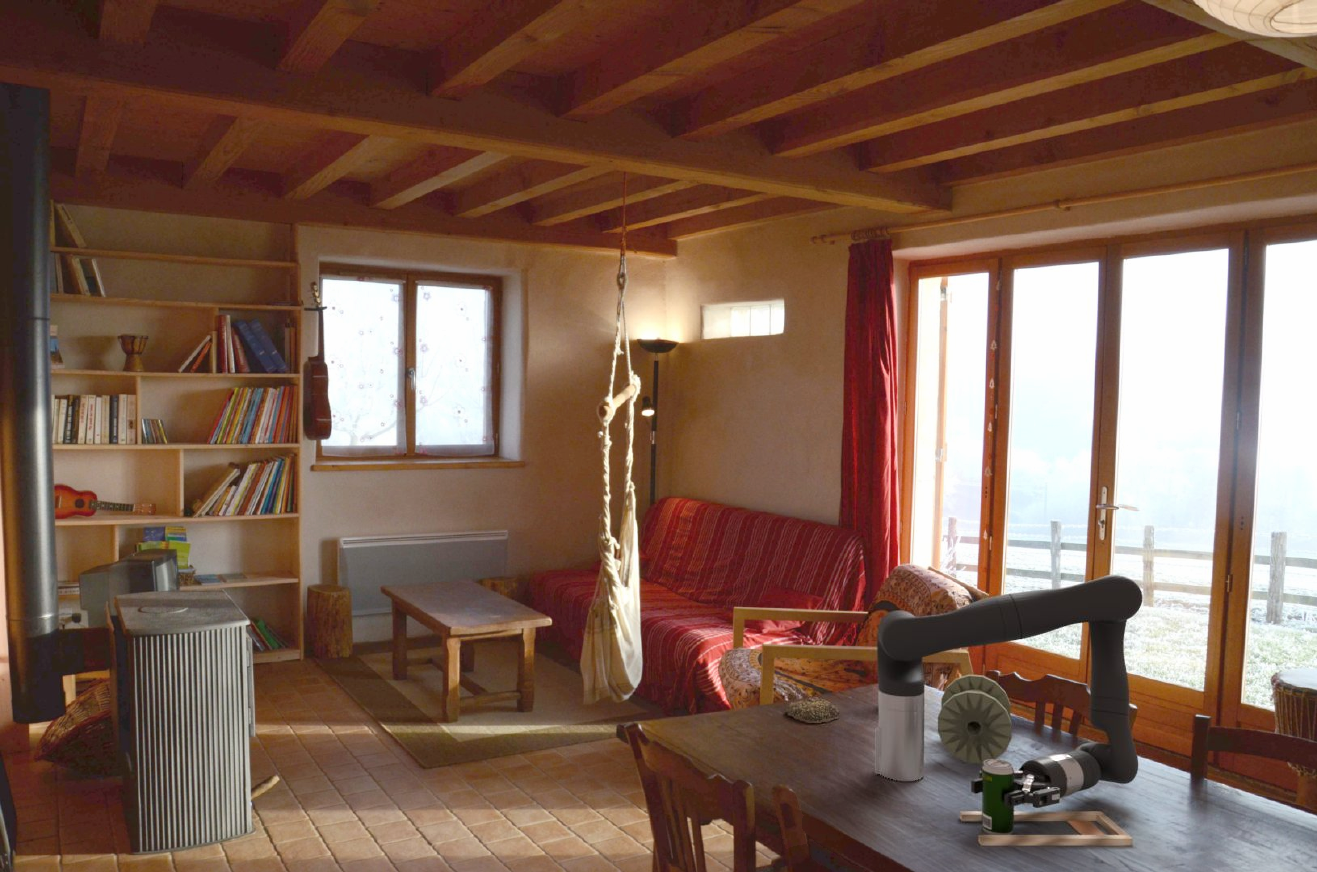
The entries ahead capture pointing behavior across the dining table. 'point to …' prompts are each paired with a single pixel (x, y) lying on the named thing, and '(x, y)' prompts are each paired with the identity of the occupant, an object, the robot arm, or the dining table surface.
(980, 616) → the robot arm
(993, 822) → the beer can
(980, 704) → the spool
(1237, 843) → the dining table surface
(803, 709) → the speckled domed shell
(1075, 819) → the frame
